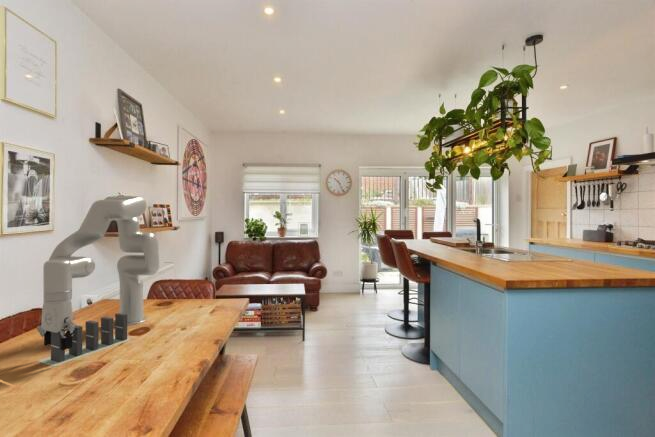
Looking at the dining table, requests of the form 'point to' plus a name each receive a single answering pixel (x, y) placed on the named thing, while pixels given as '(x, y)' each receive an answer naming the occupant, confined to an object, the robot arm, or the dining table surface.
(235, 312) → the dining table surface
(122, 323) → the domino
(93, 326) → the domino
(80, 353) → the domino
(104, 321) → the domino
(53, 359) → the domino
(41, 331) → the lighter
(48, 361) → the mat
